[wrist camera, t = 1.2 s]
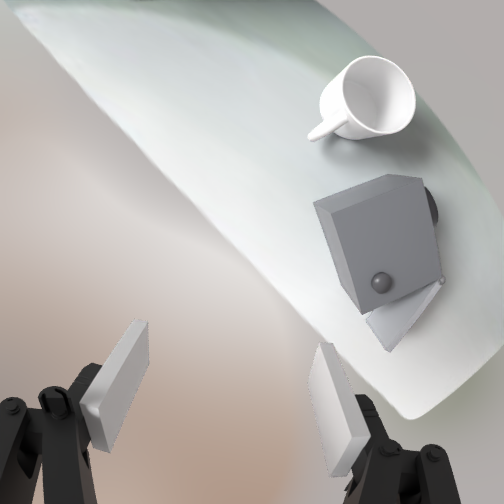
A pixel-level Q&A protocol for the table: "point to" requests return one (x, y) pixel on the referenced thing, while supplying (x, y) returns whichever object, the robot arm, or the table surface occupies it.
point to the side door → (401, 314)
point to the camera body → (382, 239)
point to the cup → (366, 101)
